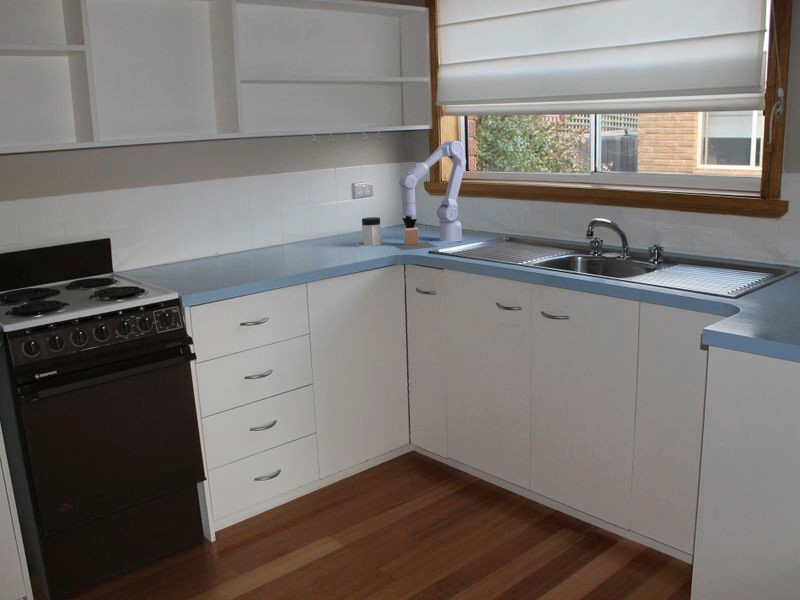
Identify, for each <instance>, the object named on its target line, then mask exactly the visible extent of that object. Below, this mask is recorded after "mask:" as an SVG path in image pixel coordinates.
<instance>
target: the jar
mask: <svg viewBox="0 0 800 600" xmlns="http://www.w3.org/2000/svg"><path fill="white" fill-rule="evenodd" d="M361 226H362V227H361V228H362V229H361V231H362V245H363V246H379V245H382V232H381V230H382V229H381V217H378V216H377V217H375V216H374V217H371V216H369V217H363V218H361Z"/></svg>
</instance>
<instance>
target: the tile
mask: <svg viewBox="0 0 800 600" xmlns="http://www.w3.org/2000/svg"><path fill="white" fill-rule="evenodd" d="M403 229H404V230H403V236H404V237H403V244H405V245H410V244H418V243H419V230H420V229H419V228H418V227H414V228H407V229H406V228H403Z"/></svg>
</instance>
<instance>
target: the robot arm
mask: <svg viewBox="0 0 800 600" xmlns="http://www.w3.org/2000/svg"><path fill="white" fill-rule="evenodd" d="M433 151H434V152H432V153H431V154H430V155H429V156H428V158H427V159H425V160H424V161H423V162H418V163H415V164H414V167H412V168H411V170H409V171H407V172H406V174H404V175H402V176H401V178H400V180H399V181H398V183H399V186H400V187H401V201H402V203H401V204H402V213H401V212H400V213H399V215H400V216H402V221H403V223H404V225H405V229H407V228H415V225H416V223H417V221H418V220H417V219H418V218H417V210H416V209H417V207H416V204H417V203H416V191H415V190H416V186H417V184H418V183H419V181H421V179H423V177H425V176H426V175H427V174H428V173H429V169H430V168H431V167H432V166H433V165H435V164H437V162H438V161H439V160H441V158H445V157H448V158H449V159H450V161H451V163H452V168H451V171H450V175H449V179H448V183H447V188H446V191H445V196H444V197H443V199H442V201H441V203H440V206H439V207H438V208H437V209H436V215H437V217H438V219H439V220H438V222H439V239H437V241H439V242H441V243H448V242H463V241H464V240H463V230H462V229H463V227H462V223H461V221H460V220H457V218H458V215H459V212H458V207H459V205H458V202H457V200H458V197H459V191H460V189H461V185H462V180H463V176H464V171H465V168H466V164H467V160H466V159H467V158H466V155H465V151H466V150H465V146H464V145H463V143H462V142H461V141H459V140H446V141H444V142H443V143H442V144H440V145H439V146H438V147H437V148H436V149H435V150H433Z"/></svg>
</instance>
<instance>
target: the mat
mask: <svg viewBox="0 0 800 600" xmlns="http://www.w3.org/2000/svg"><path fill="white" fill-rule="evenodd" d="M392 246H393V247H396V248H397V249H399V250H400V251H407V250H419V249H430V248H439V246H438V245H435V244H433V243H430V242H429V241H420V242H418V244H410V245H405V244H404V243H399V244H392Z"/></svg>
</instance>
